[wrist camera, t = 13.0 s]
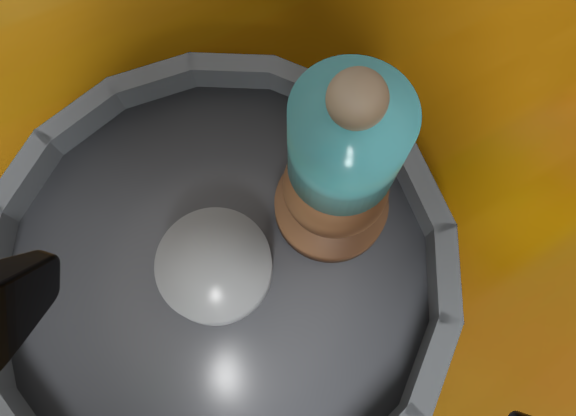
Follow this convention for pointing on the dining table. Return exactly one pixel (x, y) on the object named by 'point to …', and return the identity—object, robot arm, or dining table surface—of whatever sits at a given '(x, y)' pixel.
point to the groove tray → (215, 262)
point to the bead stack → (344, 155)
